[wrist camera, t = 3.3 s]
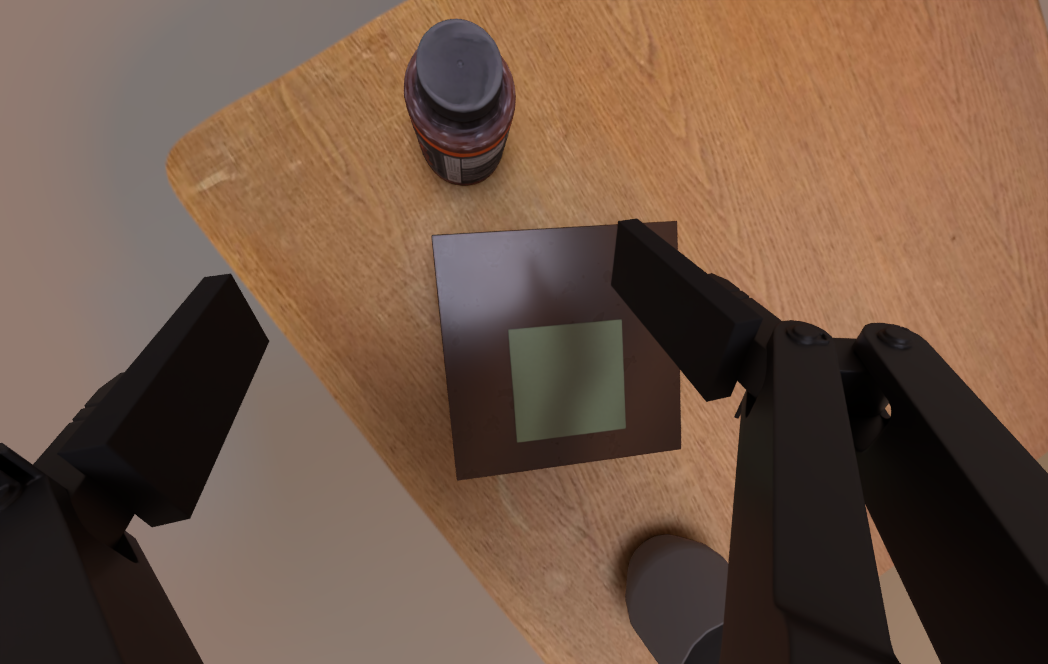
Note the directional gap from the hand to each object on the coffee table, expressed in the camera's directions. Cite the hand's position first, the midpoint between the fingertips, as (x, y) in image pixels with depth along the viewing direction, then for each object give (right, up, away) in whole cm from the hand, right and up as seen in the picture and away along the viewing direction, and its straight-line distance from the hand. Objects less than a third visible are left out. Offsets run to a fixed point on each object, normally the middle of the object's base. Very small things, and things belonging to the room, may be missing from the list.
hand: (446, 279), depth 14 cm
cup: (+15, -23, +22) cm, 36 cm away
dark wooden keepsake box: (+5, -2, +18) cm, 19 cm away
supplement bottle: (-2, +12, +15) cm, 19 cm away
